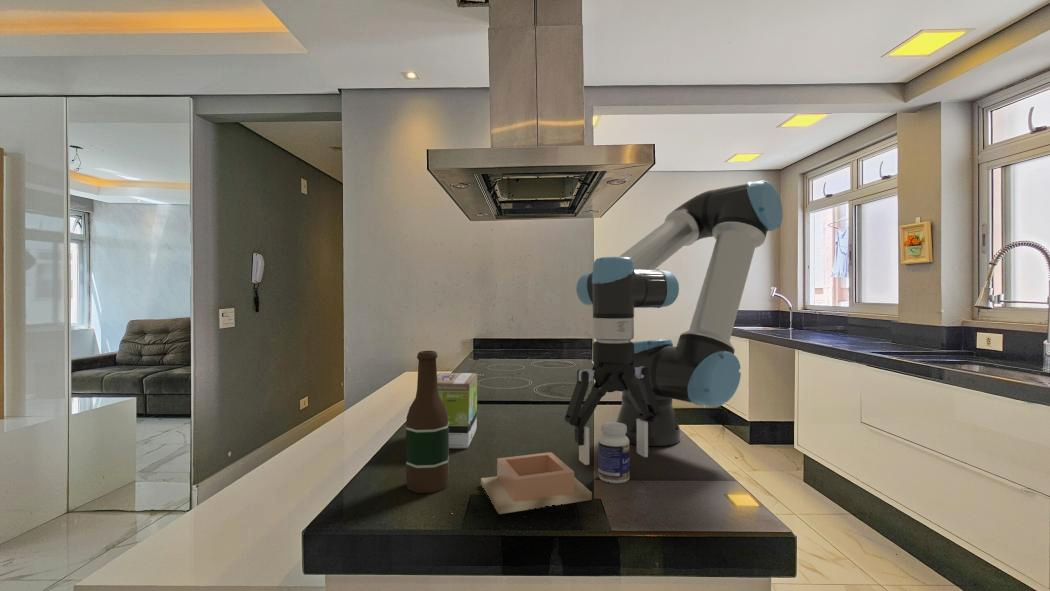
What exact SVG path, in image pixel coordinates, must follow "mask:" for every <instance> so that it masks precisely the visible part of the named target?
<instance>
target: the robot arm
mask: <svg viewBox="0 0 1050 591" xmlns="http://www.w3.org/2000/svg"><path fill="white" fill-rule="evenodd" d="M783 214H784V213H783V205H782V201H781V197H780V195H779V192H778V190H777V189H776V187H775V186H774V185H773V184H772V183H771V182H769V181H767V180H758V181H757V180H756V181H748V182H747V183H743V184H736V185H732V186H731V185H730V186H727V187H721V188H715V189H711V190H707V191H704V192H702V193H699V194H697V195H695V196H694V197H692V198H690V199H689V200H687V201H686V202H684V203H683V204H681V205H679V206H678V207H677V208H675V209H674V210H672V211H671V212H669V213H668V214H667V216H666V217H665V218H664V222H663V223H662V224H660V225H659V226H658V227H656V228H655V229H654V230H652V231H651V232H650V233H649V234H647V235H646V236H644V237H642V239H640V240H639V241H637V242H636V243H635V244H634V245H632V246H631V247H630V248H628V249H627V250H626V251H625V252H623V253H622V254H620V255H619V256H605V257H604V256H603V257H599V258H596V259H595V260H594V261H593V265H592V271H591V272H588V273H587V272H586V273H584V274H582V275H581V276H580V277H579V278H578V280H577V282H576V288H575V290H576V291H575V292H576V295H577V297H578V299H579V301H580V302H581V303H582V304H584V305H586V306H590V307H591V306H592V339H594V340H595V341H594V342H593V343H592V362H593V366H592V369H591V370H585V369H580V368H579V369H578V370H577V372H576V383H575V386H574V390H573V392H572V396H571V398H570V402H569V403H568V406H567V410H566V413H565V416H564V422H566V423H567V424H569V425H570V426H574V442H575V444H576V445H577V446H578V460H579V461H580V462H581V463H582V464H583V465H585V466H587V465H590V427H588V426H587V423H588V421H589V420H590V418H591V416H592V415H593V413H594V411H595V410H596V408H597V406H598V405H599V404H600V401H601V399H602V398H603V397H604V396H606V394H607V393H614V392H621V405H620V409H619V412H618V414H617V418H616V421H615V422H618V423H623V424H625V425H626V426H627V432H626V434H625V436H626V437H627V438H628V439H629V443H630V444H632V445H636V453H637V454H638V455H640V456H641V457H643V458H648V457H649V455H648V454H649V447H667V446H670V445H675V444H677V443H679V442H680V440H681V428H680V425H679V423H678V418H677V417H676V416H677V415H676V413H675V409H674V407H673V406H674V405H673V400H676V401H681V402H685V403H686V402H687V403H690V404H694V405H697V406H702V407H703V406H706V407H721V406H723V405H724V404H725V403H728V402H729V401H730V400H731V399H732V397H733V396H734V395H735V393H736V392H737V390H738V388H739V385H740V381H741V377H742V376H741V375H742V374H741V371H740V369H741V368H742V367H741V363H740V360H739V358H738V356H736V355H735V352H736V350H735V348H734V345H732V343H731V337H732V333H733V330H734V325H735V321H736V319H737V316H738V312H739V308H740V306H741V300H742V296H743V293H744V290H745V286H746V283H747V279H748V276H749V271H750V267H751V265H752V262H753V258H754V254H755V250H756V249H757V248H758V247H760V246H762V245H763V244H764V243H765V242H766V237H767V234H768V232H773V231H777V229H779V228H780V227H781V225H782V222H783ZM706 238H707V239H708V238H714V239H715V243H714V245H713V246H714V247H713V249H712V253H711V257H710V260H709V263H708V267H707V268H706V273H705V277H704V280H703V282H702V286H701V289H700V291H699V292H700V293H699V296H698V300H697V303H696V307H695V310H694V313H693V316H692V319H691V322H690V326H689V329H688V330H687V331H684V332H682V333H680V334H679V337H678V341H677V342H676V343H677V344H676V346H674V342H673V341H672V339H670V338H668V339H667V338H665V339H652V340H638V341H631V340H633V339H634V338H635V325H634V324H635V320H634V319H635V318H634V317H635V309H637V308H638V309H639V308H641V309H643V308H645V309H646V308H651V309H653V308H654V309H656V308H657V309H660V308H663V307H664V308H665V307H669V306H670V305H672V304H674V303H675V301H676V300H677V298H678V296H679V294H680V287H679V286H680V285H679V281H678V279H677V276H675V275H674V273H672V272H671V271H668V270H662V269H659V268H658V267H660V266H661V265H662V264H663V263H665V262H666V261H667V260H668V259H670V258H671V257H672V256H674V254H676V253H677V252H678V251H680V250H681V249H682V248H683V247H687V246H691V245H693V244H695V243H696V242H697V241H699V240H702V239H706ZM592 378H593V379H594V381H595V382H593V385H592V386H591V388H590V392H589V394H588V396H587V397H586V393H587V391H588V389H589V383H591V381H592ZM585 397H586V398H585Z"/></svg>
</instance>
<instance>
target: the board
mask: <svg viewBox="0 0 1050 591" xmlns="http://www.w3.org/2000/svg"><path fill="white" fill-rule="evenodd" d="M481 485H482V486H481ZM480 486H481V487H482V489H483V488H484V489H483V490H485V491H486V492H485V491H484V492H485V494H486V493H487V494H486V496H487V495H488V496H489V497H488V496H487V497H488V499H489V498H490V499H489V500H491V501H490V502H491V504H492V506H493V505H494V506H493V507H494V509H495V511H496V512H497V514H498V515H503V514H509V513H516V512H522V511H530V510H534V509H535V508H536V509H541V507H542V508H546V507H545V506H549V507H553V506H552V505H555V506H561V504H562V505H567V504H568V505H569V504H573V503H579V502H586V501H592V500H593V492H592V491H591V490H589V489H588V488H587V487H586V485H584V484H583V483H582V482H580V481H579V480H578V479H577V478H576V477H575V476H574V493H571V494H564V495H557V496H551V497H544V498H537V499H530V500H524V501H517V502H514V501H513V499H512V498H511V496H510V495H509V494H508V492H507V491H506V489H505V488H504V487H503V485H502V484H501V482H500V481H499V480H498V478H497V475H496V476H495V475H494V476H490V477H489V476H488V477H481V478H480ZM529 509H530V510H529Z"/></svg>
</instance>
